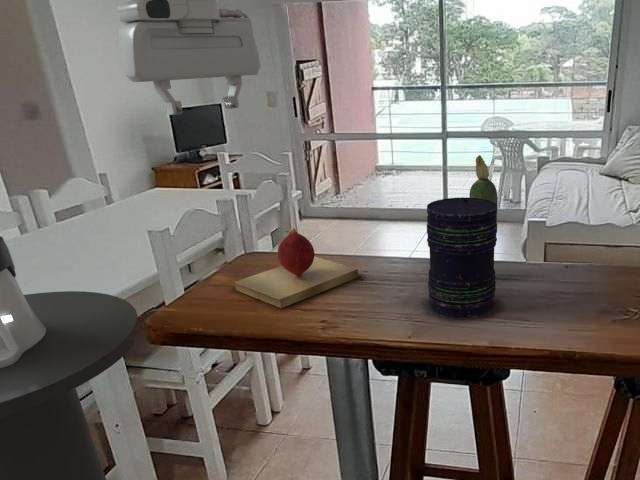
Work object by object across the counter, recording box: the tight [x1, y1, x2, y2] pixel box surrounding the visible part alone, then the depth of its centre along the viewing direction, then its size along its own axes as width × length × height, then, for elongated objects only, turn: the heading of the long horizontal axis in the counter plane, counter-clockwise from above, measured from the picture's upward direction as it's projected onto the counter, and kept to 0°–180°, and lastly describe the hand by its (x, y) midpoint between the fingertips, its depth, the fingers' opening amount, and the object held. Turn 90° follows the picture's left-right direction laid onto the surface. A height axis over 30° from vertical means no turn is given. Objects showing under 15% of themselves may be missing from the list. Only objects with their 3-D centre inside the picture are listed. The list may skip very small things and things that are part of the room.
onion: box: [277, 227, 316, 276], centre depth 92 cm, size 6×6×8 cm
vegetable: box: [469, 154, 499, 216], centre depth 90 cm, size 4×4×20 cm
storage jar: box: [426, 196, 498, 320], centre depth 82 cm, size 10×10×15 cm
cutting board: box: [234, 255, 359, 309], centre depth 94 cm, size 16×12×2 cm
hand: (205, 111), depth 87 cm, fingers open, 8 cm apart
